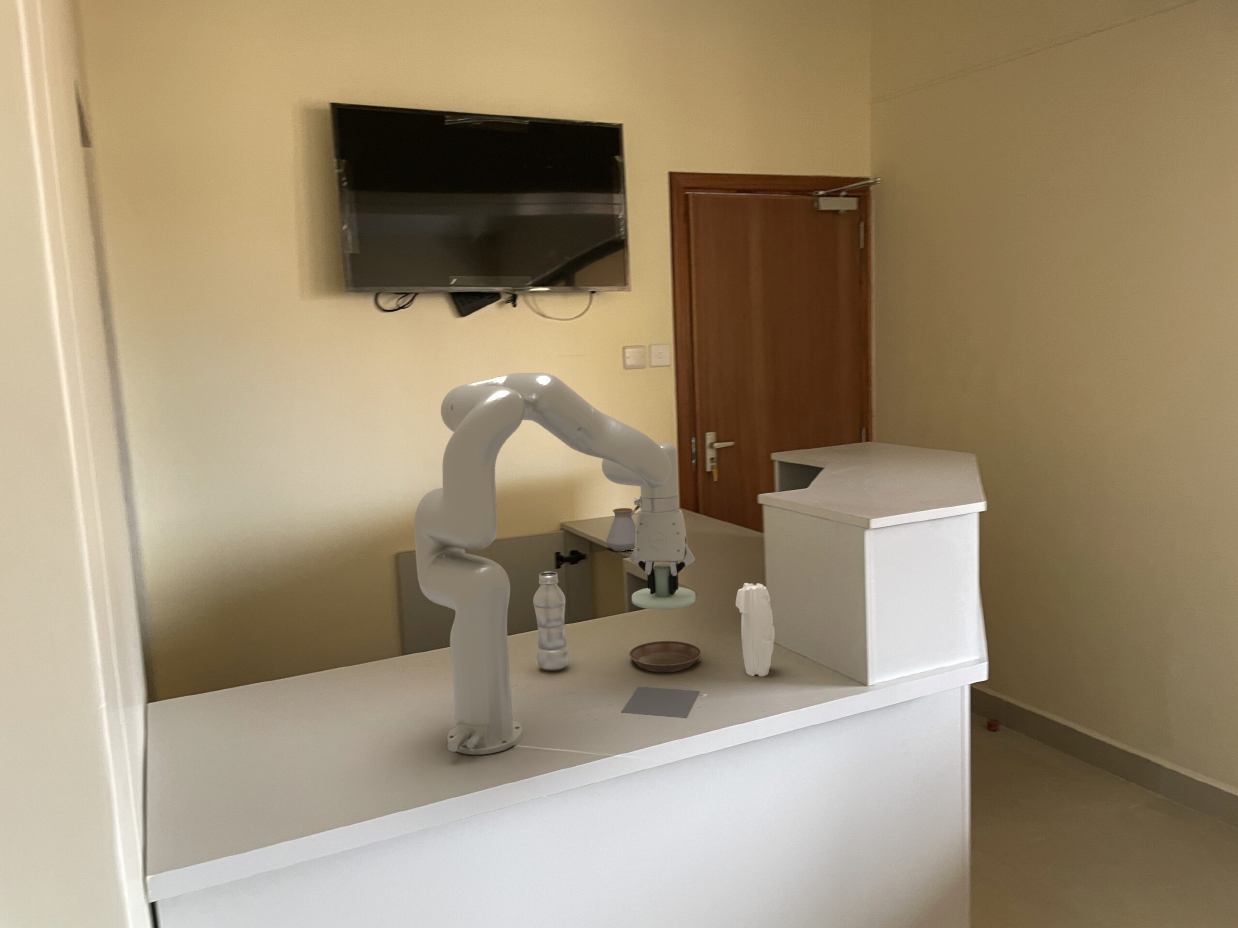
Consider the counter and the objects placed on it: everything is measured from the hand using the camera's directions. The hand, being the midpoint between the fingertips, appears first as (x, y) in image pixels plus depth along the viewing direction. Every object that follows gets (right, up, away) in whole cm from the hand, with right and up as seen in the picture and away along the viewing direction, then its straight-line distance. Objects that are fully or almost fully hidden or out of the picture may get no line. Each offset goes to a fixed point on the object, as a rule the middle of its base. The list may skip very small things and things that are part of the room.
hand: (663, 591), depth 179 cm
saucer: (+1, -15, +2) cm, 16 cm away
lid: (0, -2, 0) cm, 2 cm away
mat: (-1, -18, -18) cm, 25 cm away
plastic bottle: (-23, -16, +2) cm, 28 cm away
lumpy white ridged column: (+18, -16, -6) cm, 24 cm away
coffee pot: (-5, -1, +108) cm, 108 cm away
